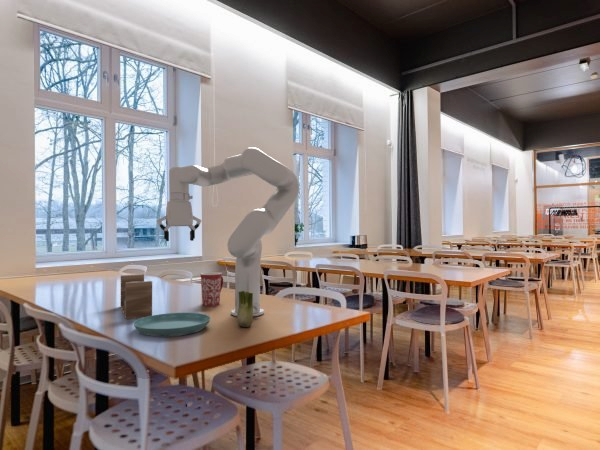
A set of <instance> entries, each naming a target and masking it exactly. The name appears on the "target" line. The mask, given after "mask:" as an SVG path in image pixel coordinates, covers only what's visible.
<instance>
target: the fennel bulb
mask: <svg viewBox="0 0 600 450" xmlns="http://www.w3.org/2000/svg"><path fill="white" fill-rule="evenodd" d="M253 318H254V316H253V293H249V292H245V291H239V308H238V315H237V316H236V322H237V323H236V324H237V325H238V326H239V327H242V328H249V327H251V326H252V323H253Z"/></svg>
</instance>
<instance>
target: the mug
mask: <svg viewBox="0 0 600 450" xmlns="http://www.w3.org/2000/svg"><path fill="white" fill-rule="evenodd" d="M222 274H223V273H222V272H218V271H217V272H216V271H214V272H213V271H212V272H211V271H210V272H209V271H207V272H201V273H200V281H201V282H200V286H201V287H200V288H201V300H202V301H201V302H202V303H201V304H202V306H205V307H215V306H220V305H221V304H220V303H221V301H220V300H221V292H222V289H223V287H224V277H223V275H222Z"/></svg>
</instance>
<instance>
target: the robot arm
mask: <svg viewBox="0 0 600 450" xmlns="http://www.w3.org/2000/svg"><path fill="white" fill-rule="evenodd" d="M252 175H255V176H256V177H258V178H260V179H261V180H263V181H265V182H266V183H267V184H268V185H271V186H272V187H276V190H275V191H274V192H273V194H271V196H270V197H269V198H268V199H267V200H266V202H265V203H264V204H263V206H261V208H256V209H253V210H251V211H250V212H248V213H247V214H246V215H245V216H244V217H243V219H242V220H241V221H240V223H239V224H238V225H237V226H236V228H235V229H234V231H233V232H232V233H231V234H230V236H229V238H228V239H227V240H228V241H227V245H226V247H227V250H228V253H229V254H230V255H231V256H232V257H234V258H236V259H235V271H234V273H235V274H234V278H235V279H234V280H235V281H234V290H235V291H234V292H235V293H234V295H235V297H234V298H235V299H234V309H231V310H230V314H231V315H232V316H235V317H237V315H238V308H239V291H245V292H249V293H253V317H257V316H261V315H264V313H265V311H264V309H263V308H261V259H262V249H263V247H262V246H263V244H262V240H261V239H262V238H263V237H264V235H268V234H271V233H272V232H273V231H274V230H275V228H277V226H278V224H279V223H280V222H281V220H282V219H283V218H284V217H285V215H286V214H287V212H288V211H289V210H290V208H291V207H292V206H293V205H294V203H295V201H296V200H297V198H298V195H299V190H300V186H299V181H298V178H297V176H296V174H295V172H294V171H293V170H292V169H291V168H289V167H288V166H287V165H284V163H283V164H282V163H281V162H279V161H278V160H276V159H274V158H273V157H271V156H269V155H268V154H267V153H265V152H264V151H263V150H261V149H259V148H257V147H251V146H250V147H248V148H245V149H244V150H243V151H242V152H241V154H237V155H232V156H228V157H226V158H225V159H224V162H222V163H220V164H218V165H215V166H212V167H202V166H199V165H195V164H193V165H192V164H191V165H186V166H172V167H171V168H169V171H168V177H169V178H168V180H169V181H168V183H169V185H168V187H169V194H168V195H169V201H167V202H166V208H165V216H162V217H160V218H158V219H157V220H156V223H157V224H158V227H159V228H160V229H161V230H162V231H163V235H164V236H163V238H164V240H165V242H169V241H170V231H169V229H170V228H171V227H188V228H189V229H190V231H189V241H191V242H192V241H194V239H196V238H195V237H196V230H197V229H198V228H199V227H200V225H201V223H202V219H200V218H198V217H196V216H194V215H193V209H192V208H193V207H192V203H191V201H190V200H193V195H192V194H191V195H190V188H189V187H190V185H194V186H199V187H209V186H215V185H218V184H223V183H225V182H229V181H231V180H233V179H239V178H241V177H242V178H243V177H247V176H252ZM163 221H165V225H164V224H163V223H162V222H163ZM194 221H195V222H196V223H195V225H193V224H194Z"/></svg>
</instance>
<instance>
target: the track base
mask: <svg viewBox="0 0 600 450" xmlns="http://www.w3.org/2000/svg"><path fill="white" fill-rule="evenodd" d="M120 306H121V307H120ZM120 306H119V307H120V308H121V311H122V314H123V315H125V316H124V318H125V320H130V319H140V318H144V317H148V316H153V281H152V280H147V281H145V274H125V275H120Z"/></svg>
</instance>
